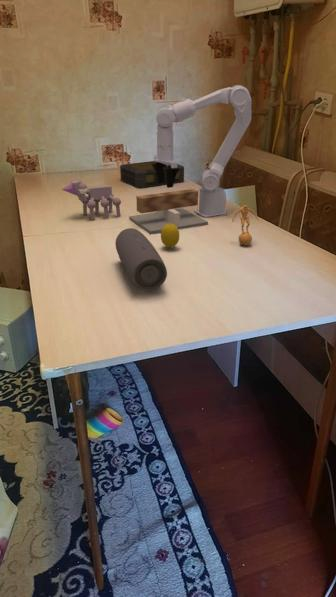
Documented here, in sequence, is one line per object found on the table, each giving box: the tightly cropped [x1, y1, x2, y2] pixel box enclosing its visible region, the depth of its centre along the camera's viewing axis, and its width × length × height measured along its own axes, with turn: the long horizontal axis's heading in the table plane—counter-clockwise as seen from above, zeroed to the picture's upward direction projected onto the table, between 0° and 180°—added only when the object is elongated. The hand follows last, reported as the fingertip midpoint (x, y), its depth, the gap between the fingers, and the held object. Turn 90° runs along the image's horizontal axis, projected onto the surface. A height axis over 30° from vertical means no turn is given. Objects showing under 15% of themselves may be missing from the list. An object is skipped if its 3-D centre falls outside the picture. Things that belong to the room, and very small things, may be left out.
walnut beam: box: [136, 188, 199, 214], centre depth 151 cm, size 22×4×5 cm, turn 117°
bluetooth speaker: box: [115, 227, 168, 292], centre depth 112 cm, size 23×9×10 cm, turn 17°
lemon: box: [160, 223, 180, 249], centre depth 130 cm, size 6×6×8 cm
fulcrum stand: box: [128, 208, 209, 235], centre depth 153 cm, size 22×18×5 cm
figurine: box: [231, 204, 259, 247], centre depth 132 cm, size 8×6×12 cm
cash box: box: [119, 160, 185, 189], centre depth 208 cm, size 25×20×8 cm
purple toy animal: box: [61, 179, 122, 221], centre depth 156 cm, size 20×11×14 cm, turn 114°
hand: (165, 184), depth 159 cm, fingers open, 7 cm apart
